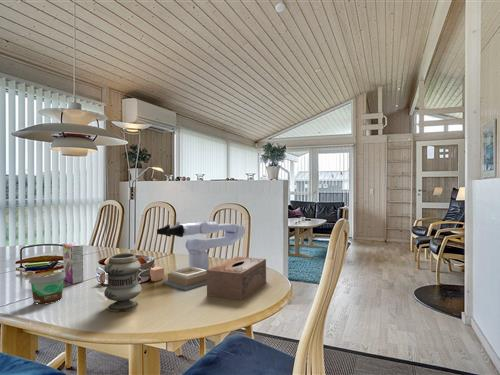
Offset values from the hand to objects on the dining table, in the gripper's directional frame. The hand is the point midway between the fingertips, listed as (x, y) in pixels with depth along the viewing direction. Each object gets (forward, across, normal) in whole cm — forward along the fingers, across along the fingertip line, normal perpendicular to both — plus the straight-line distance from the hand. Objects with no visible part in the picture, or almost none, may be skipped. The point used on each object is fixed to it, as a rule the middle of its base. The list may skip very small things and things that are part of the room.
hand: (162, 232), depth 149 cm
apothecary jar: (+28, +17, +23) cm, 40 cm away
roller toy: (+18, -15, +21) cm, 32 cm away
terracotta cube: (+1, -4, +21) cm, 22 cm away
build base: (-5, +12, +22) cm, 25 cm away
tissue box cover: (-13, +34, +24) cm, 43 cm away
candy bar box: (+26, -31, +20) cm, 45 cm away
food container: (+42, -9, +22) cm, 48 cm away
